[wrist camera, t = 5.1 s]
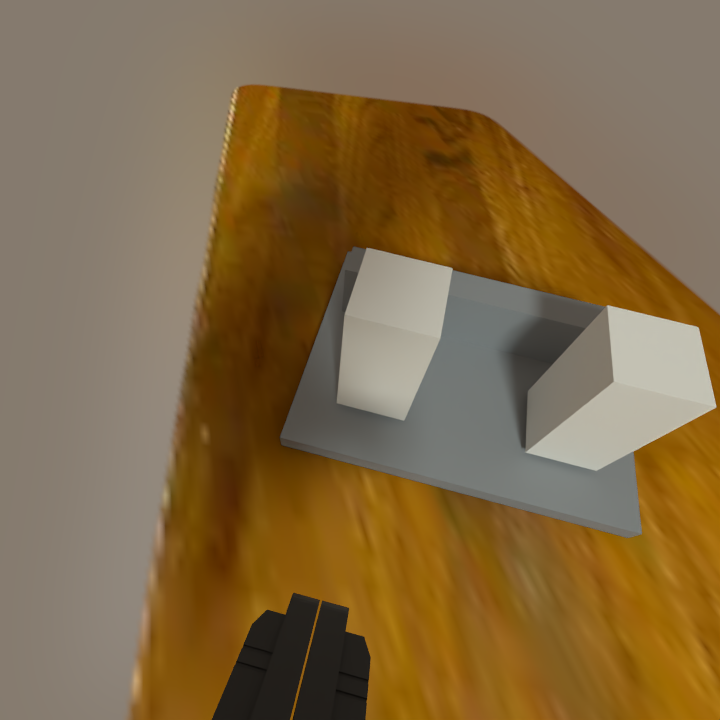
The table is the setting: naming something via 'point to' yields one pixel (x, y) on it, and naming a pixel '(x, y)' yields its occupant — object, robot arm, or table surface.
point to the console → (468, 406)
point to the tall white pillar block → (391, 332)
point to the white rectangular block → (618, 389)
